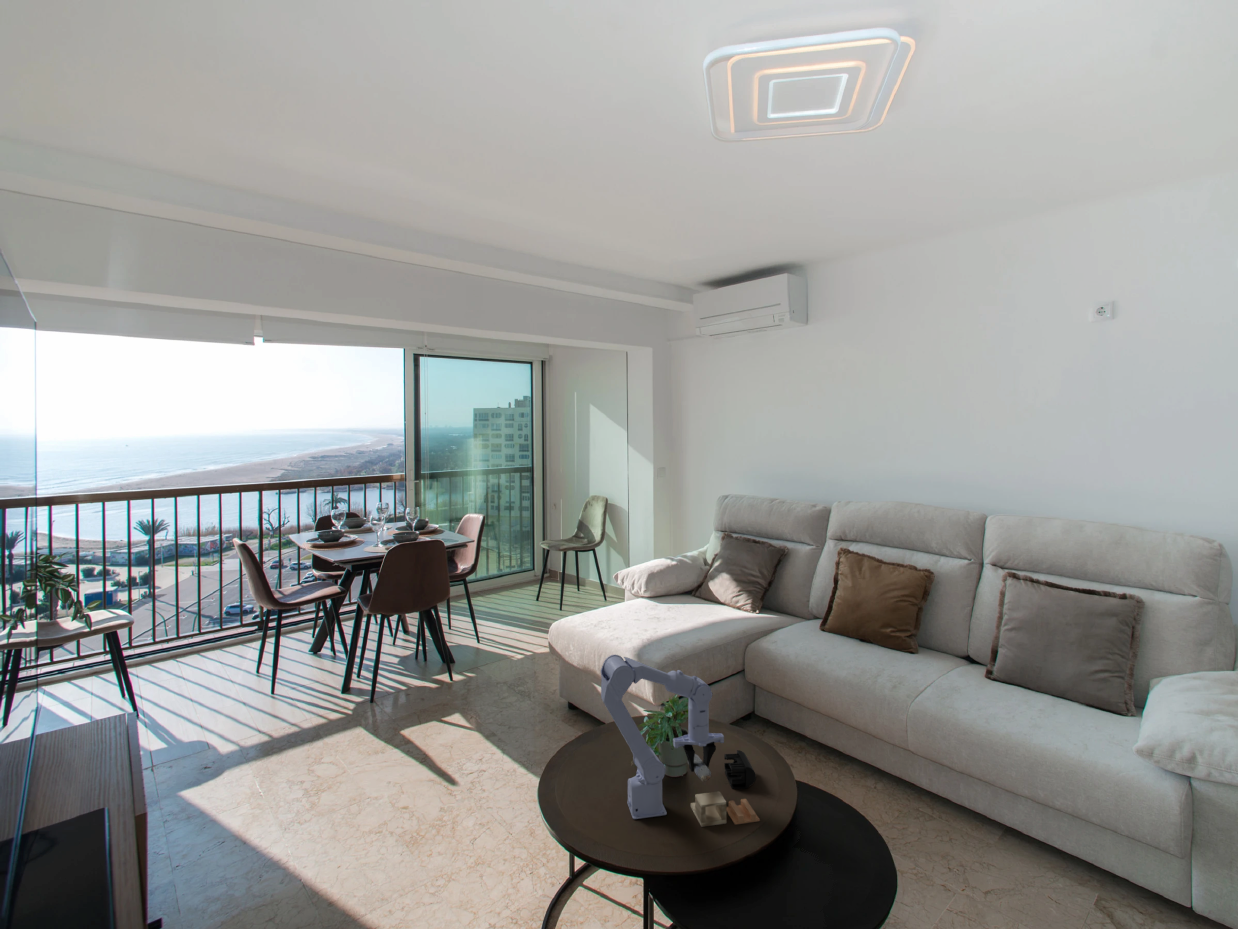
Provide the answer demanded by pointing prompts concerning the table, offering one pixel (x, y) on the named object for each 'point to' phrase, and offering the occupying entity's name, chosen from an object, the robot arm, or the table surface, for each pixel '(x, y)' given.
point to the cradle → (741, 812)
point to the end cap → (739, 771)
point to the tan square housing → (709, 808)
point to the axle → (701, 769)
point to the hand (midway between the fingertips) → (698, 769)
